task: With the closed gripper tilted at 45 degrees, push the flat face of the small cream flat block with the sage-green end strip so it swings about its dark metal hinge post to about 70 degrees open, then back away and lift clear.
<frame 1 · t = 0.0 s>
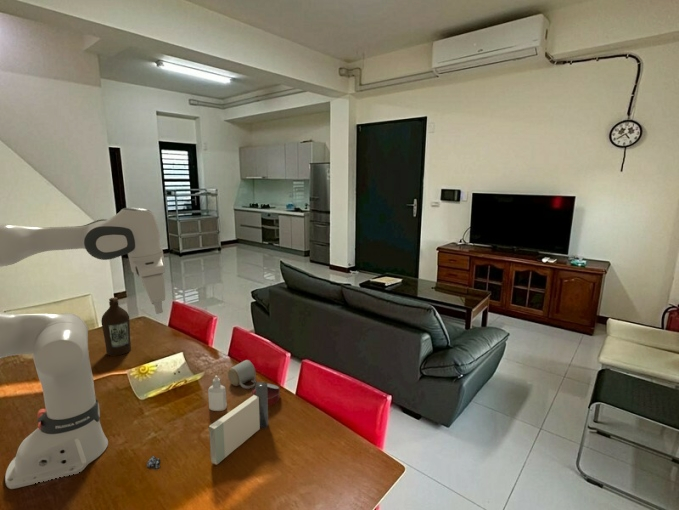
hand: (157, 308, 109), 39 cm above the table, tool pointing down, fingers open, 8 cm apart
eye dropper bottle: (218, 408, 125), on the table
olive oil: (119, 352, 165), on the table
cream flat block: (236, 427, 106), point 6 cm above the table, hinge at 0.0°
hinge post: (262, 425, 117), on the table
canned food: (265, 399, 131), on the table
blueberries: (156, 464, 101), on the table
ceramic mug: (244, 383, 141), on the table
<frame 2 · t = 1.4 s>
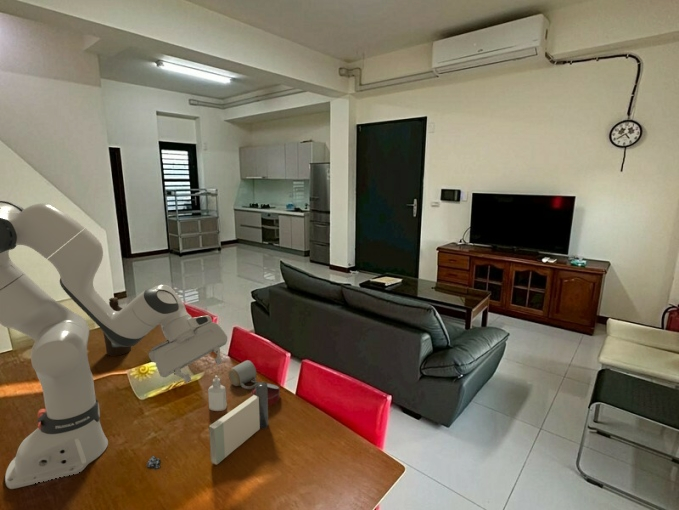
hand: (204, 372, 105), 22 cm above the table, tool tilted 50°, fingers open, 8 cm apart
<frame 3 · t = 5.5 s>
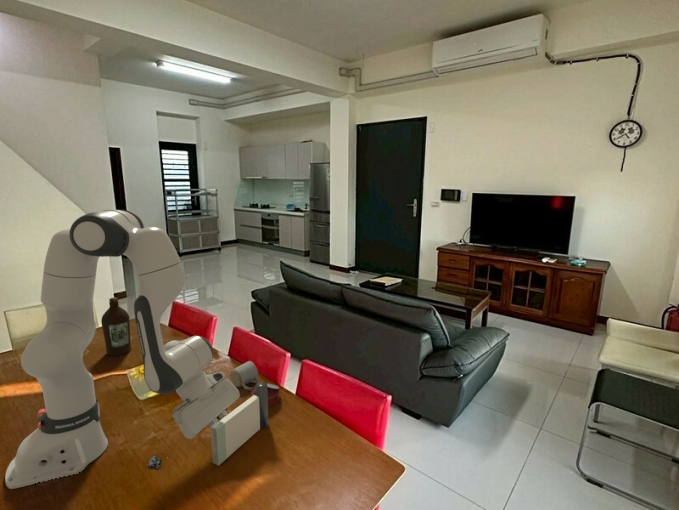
hand: (227, 429, 105), 6 cm above the table, tool tilted 45°, fingers closed
cream flat block: (237, 428, 106), point 6 cm above the table, hinge at 2.0°, touching gripper
ceramic mug: (247, 385, 140), on the table
everything else where it was.
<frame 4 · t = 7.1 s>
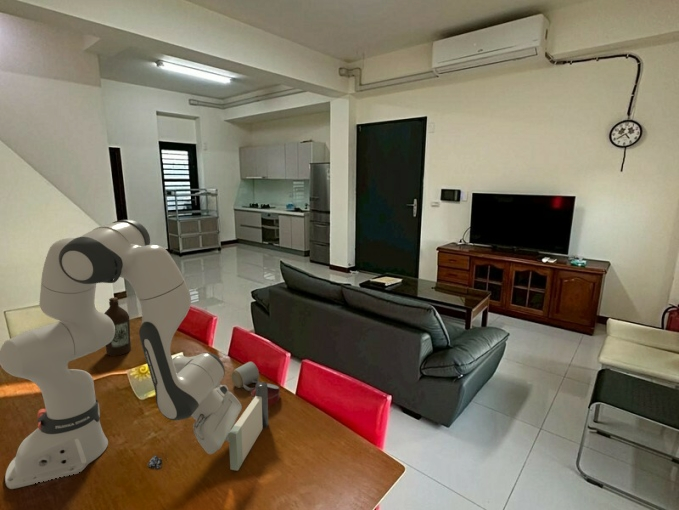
hand: (239, 441, 104), 3 cm above the table, tool tilted 40°, fingers closed
cream flat block: (247, 430, 105), point 6 cm above the table, hinge at 19.3°, touching gripper
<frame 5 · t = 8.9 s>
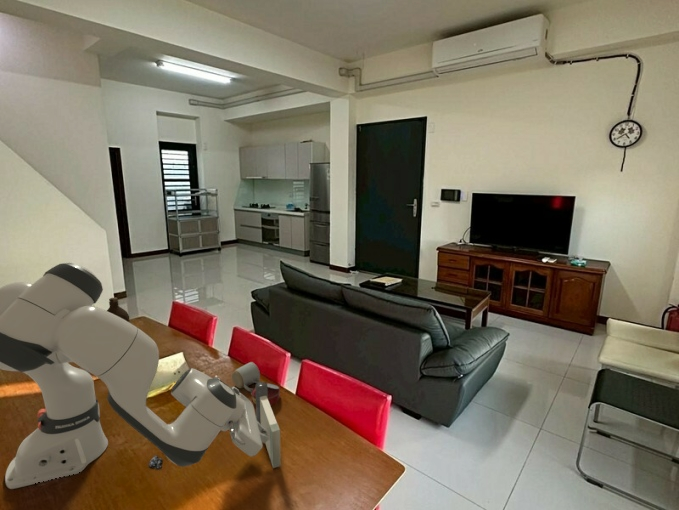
hand: (265, 436, 102), 6 cm above the table, tool tilted 45°, fingers closed
cream flat block: (269, 429, 105), point 6 cm above the table, hinge at 52.6°, touching gripper
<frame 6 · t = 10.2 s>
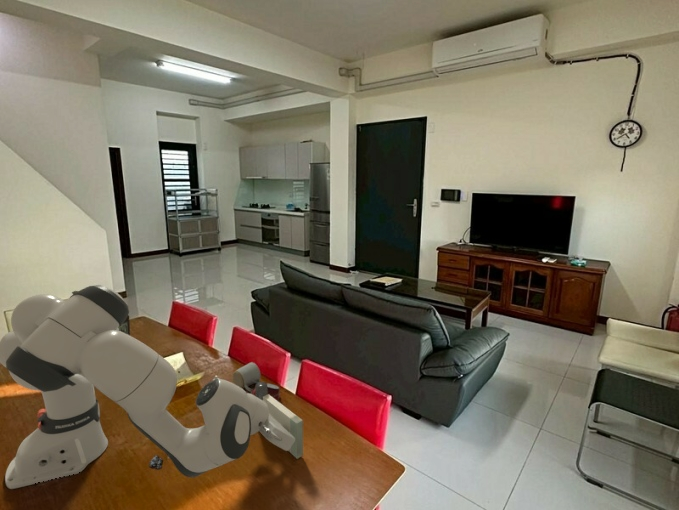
hand: (283, 432, 104), 6 cm above the table, tool tilted 45°, fingers closed
cream flat block: (282, 424, 108), point 6 cm above the table, hinge at 73.2°, touching gripper
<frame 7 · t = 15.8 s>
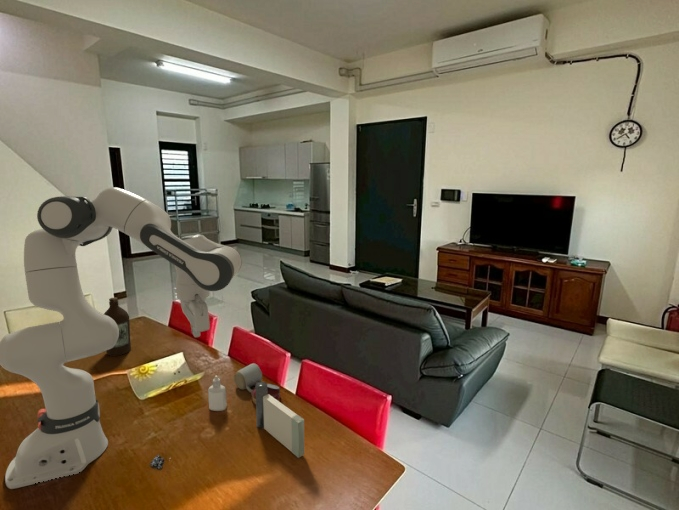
hand: (196, 335, 109), 31 cm above the table, tool pointing down, fingers closed
cream flat block: (282, 424, 108), point 6 cm above the table, hinge at 74.6°
at the end: cream flat block at +75° (first picture: +0°); canned food moved 0.5 cm from its start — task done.
